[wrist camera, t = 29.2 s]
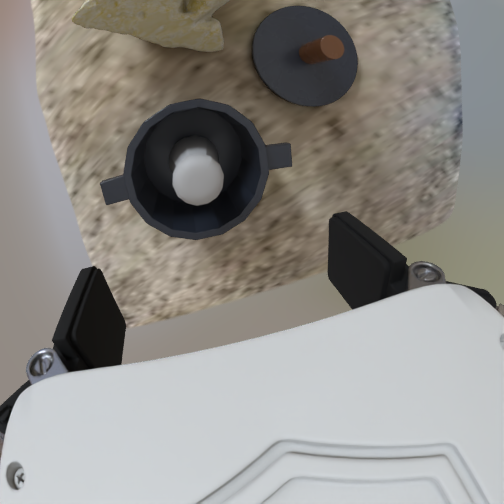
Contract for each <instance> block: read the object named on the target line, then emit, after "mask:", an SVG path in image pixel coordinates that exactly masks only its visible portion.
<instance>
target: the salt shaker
mask: <svg viewBox="0 0 504 504" xmlns="http://www.w3.org/2000/svg"><path fill="white" fill-rule="evenodd" d="M218 162H219V154H218V152H217V149H216V147H215V145H214V144H213V143H212V142H210V141H209V140H208V139H207V138H204V137H200V136H196V135H195V136H189V137H184V138H183V139H181V140H180V141H179V142H177V143H176V144H175V145H174V147H173V148H172V150H171V152H170V154H169V167H170V170H171V172H172V174H173V187H174V189H175V192H176V194H177V196H178V197H179V198H181V199H182V200H183V201H184V202H186V203H188V204H192V205H196V206H198V205H203V204H208V203H209V202H211V201H212V200H214V199H215V198H217V197H218V195H219V193H220V191H221V190H222V188H223V179H224V174H223V171H222V169H221V166H220V164H219V163H218Z"/></svg>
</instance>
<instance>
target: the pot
mask: <svg viewBox="0 0 504 504" xmlns="http://www.w3.org/2000/svg"><path fill="white" fill-rule="evenodd" d="M195 135H196V136H200V137H204V138H207V139H208V140H209V141H210V142H212V143H213V144H214V145H215V147H216V149H217V152H218V154H219V162H218V163H219V164H220V166H221V169H222V171H223V174H224V179H223V188H222V190H221V191H220V193H219V195H218V197H217V198H215V199H214V200H212V201H211V202H209V203H208V204H203V205H198V206H196V205H192V204H188V203H186V202H184V201H183V200H182V199H181V198H179V197H178V196H177V194H176V192H175V189H174V187H173V174H172V172H171V170H170V167H169V154H170V152H171V150H172V148H173V147H174V145H175V144H176V143H177V142H179V141H180V140H181V139H183V138H184V137H189V136H195ZM285 167H292V157H291V144H290V143H278V144H270V145H265V144H264V142H263V140H262V138H261V136H260V135H259V133H258V131H257V129H256V128H255V126H254V124H253V123H252V122H251V121H250V120H249V119H247V118H246V117H245V116H243V115H242V114H241V113H239V112H238V111H237V110H235V109H234V108H232V107H231V106H229V105H227V104H222V103H218V102H213V101H209V100H204V99H195V100H189V101H184V102H179V103H174V104H170V105H168V106H166V107H165V108H163V109H162V110H160V111H159V112H157V113H156V114H154V115H153V116H152V117H150V118H149V119H147V120H146V121H145V122H144V123H143V124H142V125H141V127H140V129H139V130H138V132H137V133H136V135H135V136H134V138H133V139H132V141H131V143H130V144H129V146H128V148H127V154H126V160H125V167H124V173H123V175H120V176H116V177H113V178H109V179H106V180H103V181H102V182H101V183H100V185H101V189H102V192H103V196H104V199H105V203H106V205H109V204H113V203H117V202H120V201H124V200H128V199H129V200H130V202H131V204H132V205H133V207H134V208H135V209H136V211H137V212H138V213H139V214H140V216H141V217H142V218H143V219H144V221H145V222H146V223H147V224H149V225H151V226H152V227H154V228H156V229H158V230H159V231H161V232H163V233H165V234H167V235H168V236H171V237H178V238H185V239H192V240H198V239H203V238H207V237H212V236H217V235H221V234H224V233H225V232H227V231H228V230H230V229H232V228H233V227H235V226H236V225H238V224H239V223H241V222H243V221H244V220H245V219H246V218H247V217H248V215H249V214H250V213H251V212H252V210H253V209H254V208H255V206H256V205H257V204H258V202H259V201H260V200H261V198H262V195H263V192H264V188H265V185H266V181H267V178H268V175H269V170H271V169H278V168H285Z"/></svg>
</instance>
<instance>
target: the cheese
mask: <svg viewBox="0 0 504 504" xmlns="http://www.w3.org/2000/svg"><path fill="white" fill-rule="evenodd" d="M228 1H229V0H87V1H85V2H84V3H83V5H82V7H81V8H80V9H79V10H78V11H77V12H76V13H75V14H74V16H73V18H72V21H73V22H74V23H75V24H77V25H80V26H82V27H84V28H94V29H99V30H107V31H110V32H114V33H120V34H131V35H133V36H135V37H138V38H139V39H141V40H146V41H149V42H151V43H154V44H159V45H161V46H162V47H170V48H176V47H186V48H189V49H193V50H196V51H204V52H215V51H219V50H222V49H223V43H224V39H223V36H222V29H221V24H220V22H219V21H218V20H217V19H214V18H212V14H213V13H214V12H215V11H216V10H217V9H219V8H220V7H221V6H223V5H224V4H226V3H227V2H228Z"/></svg>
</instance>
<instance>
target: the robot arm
mask: <svg viewBox="0 0 504 504" xmlns="http://www.w3.org/2000/svg"><path fill="white" fill-rule="evenodd" d="M406 261H407V258H406V257H405V256H403V255H402V254H401V253H400V252H399V251H398V250H396V249H395V248H394V247H393V246H391V245H390V244H389V243H388V242H386V241H385V240H384V239H383V238H381V237H380V236H379V235H378V234H376V233H375V232H374V231H372V230H371V229H370V228H369V227H367V226H366V225H365V224H363V223H362V222H361V221H359V220H358V219H357V218H355V217H354V216H353V215H351V214H350V213H349V212H347V211H346V212H341V213H335V214H333V216H332V218H330V219H329V248H328V277H329V280H330V281H331V282H332V284H333V285H334V286H335V287H336V289H337V290H338V291H339V293H340V294H341V295H342V297H343V298H344V299H345V300H346V302H347V303H348V304H349V306H350V307H351V308H352V310H350V311H347V312H344V313H341V314H338V315H335V316H332V317H329V318H325V319H322V320H318V321H315V322H312V323H308V324H305V325H301V326H298V327H295V328H291V329H288V330H284V331H280V332H276V333H273V334H269V335H265V336H261V337H258V338H253V339H249V340H245V341H241V342H237V343H233V344H229V345H224V346H220V347H216V348H211V349H207V350H202V351H197V352H192V353H187V354H182V355H177V356H171V357H166V358H160V359H155V360H149V361H143V362H137V363H130V364H124V365H121V363H122V354H123V346H124V338H125V331H126V323H125V320H124V318H123V316H122V314H121V312H120V310H119V308H118V306H117V303H116V301H115V299H114V297H113V295H112V293H111V291H110V289H109V286H108V284H107V282H106V280H105V278H104V275H103V273H102V271H101V270H100V269H97V268H96V267H95V266H93V267H89V268H85V269H82V270H81V271H80V273H79V276H78V278H77V280H76V282H75V284H74V286H73V289H72V291H71V293H70V296H69V298H68V300H67V303H66V305H65V307H64V310H63V312H62V315H61V317H60V320H59V323H58V325H57V328H56V331H55V333H54V336H53V339H52V341H53V343H54V347H53V349H51V348H44V349H41V350H39V351H38V352H36V353H35V354H34V355H33V356H32V357H31V358H30V360H29V362H28V364H27V367H26V372H27V376H28V379H29V380H28V381H27V382H26V383H25V384H24V385H22V386H21V387H20V388H19V389H18V390H17V391H16V392H15V393H14V394H13V395H11V396H10V397H9V398H8V399H7V400H6V401H5V402H4V403H3V404H2V405H1V406H0V504H504V305H502V304H499V306H496V301H495V299H494V298H493V296H492V295H491V294H490V293H489V292H488V291H486V290H484V289H479V288H475V287H470V286H466V285H461V284H456V283H452V282H448V281H446V280H445V275H444V272H443V271H442V270H441V268H439V267H438V266H437V265H435V264H432V263H429V262H424V261H419V262H414V263H412V264H411V265H410V266H408V265H407V264H406Z"/></svg>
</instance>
